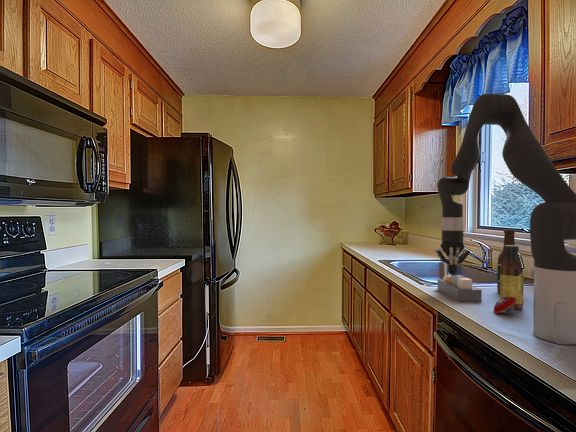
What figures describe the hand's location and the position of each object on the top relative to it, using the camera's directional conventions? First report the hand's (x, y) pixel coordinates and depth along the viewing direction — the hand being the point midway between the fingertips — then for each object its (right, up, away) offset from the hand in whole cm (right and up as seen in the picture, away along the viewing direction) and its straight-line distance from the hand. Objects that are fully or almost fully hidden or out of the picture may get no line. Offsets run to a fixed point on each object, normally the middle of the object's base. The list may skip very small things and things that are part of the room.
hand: (452, 274), depth 128 cm
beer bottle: (+20, -7, -3) cm, 21 cm away
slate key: (0, -3, -5) cm, 6 cm away
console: (0, -7, -5) cm, 8 cm away
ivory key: (0, -3, -10) cm, 10 cm away
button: (+3, -8, -27) cm, 28 cm away
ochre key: (0, -5, 0) cm, 5 cm away
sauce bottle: (+9, -7, -20) cm, 23 cm away
